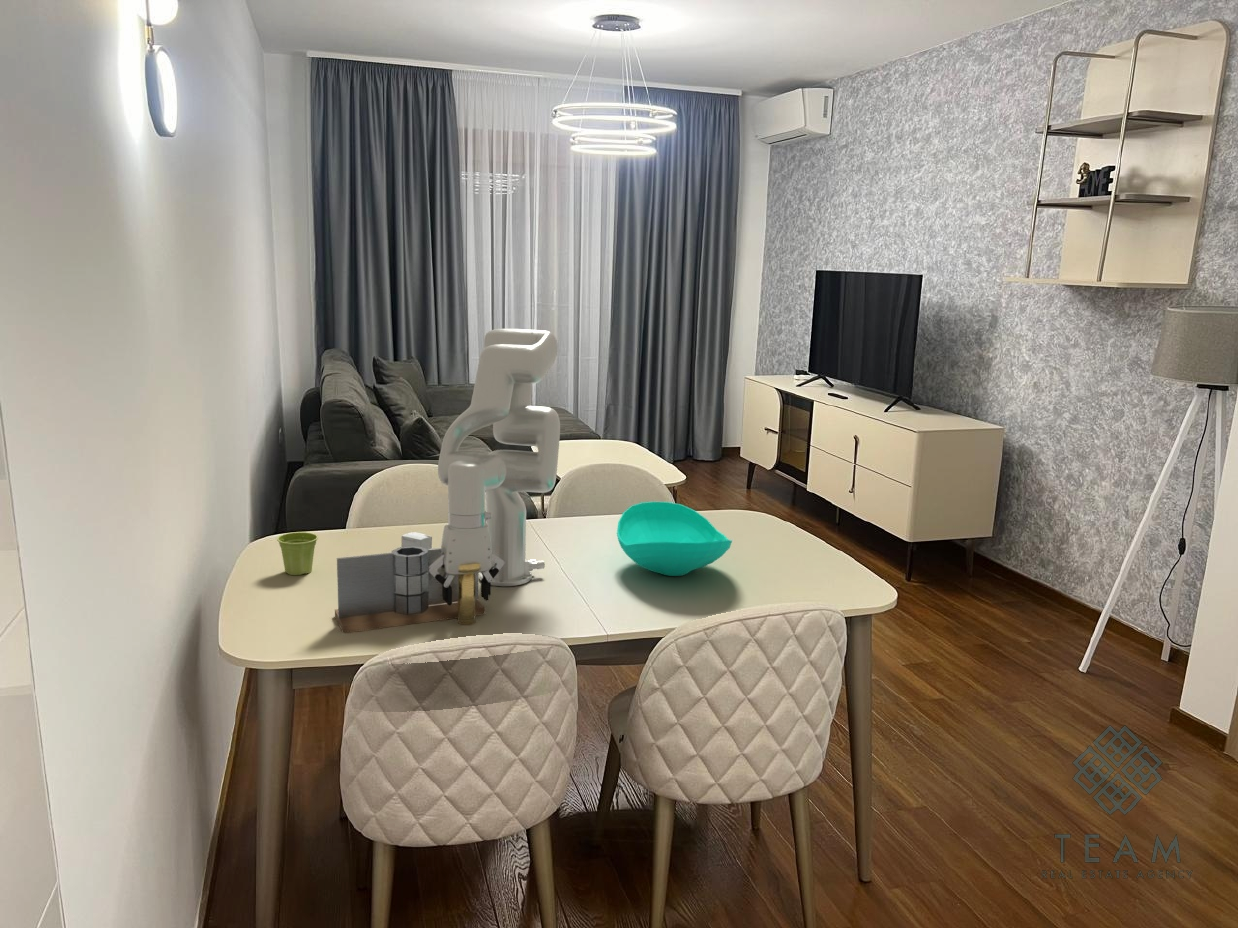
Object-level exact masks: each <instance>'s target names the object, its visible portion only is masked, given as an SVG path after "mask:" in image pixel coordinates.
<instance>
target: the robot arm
mask: <svg viewBox="0 0 1238 928" xmlns="http://www.w3.org/2000/svg"><path fill="white" fill-rule="evenodd" d="M558 346H559V345H558V340H557V338H556V336H555V334H554V333H553V332H551V331H549V330H544V329H543V330H541V329H526V328H525V329H524V328H495V329H492V330H489V331H488V332H487V333H485V335H484V338H483V349H482V351H481V352H480V355H479V359H478V360H479V361H478V365H477V370H476V375H475V381H474V386H473V393H472V396H471V402H470V405H469V406H468V408H466V410H464V411H463V412H462V413H461V414H460V415H458V416H457V418H456V419H455V420H454V421H453V422H452V423H451V424H450V425H449V427H448V429H447V430H446V432H445V434H444V436H443V439H442V443H441V447H440V453H439V458H438V462H437V463H438V464H437V475H438V478H439V481H440V482H441V483H442V484H443V485H444V486H447V489H448V491H447V499H448V500H447V501H448V503H447V504H448V505H447V506H448V508H447V509H448V513H447V515H448V516H447V517H448V519H447V520H448V523H447V524H446V525H444V527H443V533H442V538H441V544H440V545H441V546H440V548H441V557H440V558H438V559H437V560H436V561H435V562H434V563H433V564H431V565H430V566H429V567H428V571H429V572H430V573H431V574H432V575H433V576H434V578H435V579H436V580H437V581H438V582H440V583H441V584H442V598H443V600H444V601H445V602H446V603H447V604H448V605H451V604H452V587H451V586H450V583H451V581H452V579H453V577H454V576H455V575H462V574H468V573H460V572H458V571H459V565H468V564H477V563H481V570H479V571H477V572H471V573H479V581H480V597H482V600H484V601H489V599H490V598H489V597H490V596H491V593H492V592H491V591H492V587H491V586H496V587H513V586H515V587H516V586H522V585H524V584H527V583H528V582H530V581H531V580H532V579H533V577H532V576H533V573H532V571H533V570H541V569H542V570H543V569H545V567H546V566H545V561H544V560H538V561H537V560H536V559H530V560H529V559H527V558H526V550H527V549H526V547H527V546H526V545H527V544H526V543H527V542H526V541H527V537H526V536H527V508H526V503H525V502H524V499H523V498H522V497H521V495H520V493H519V492H525V493H538V494H539V493H540V494H541V493H544V494H545V493H548V492H551V491H552V490H553V489H554V487H555V485H556V480H557V475H558V474H557V473H558V460H559V452H560V451H559V449H560V437H561V421H560V416H559V414H558V412H557V411H556V409H554V408H551V407H550V406H543V405H542V406H539V405H532V395H533V384H534V385H535V384H538V383H540V382H541V381H542V380H543V379H544V378H545V377H546V375H547V373H548V371H550V369H551V368H552V366H553V364H554V363H555V361H556V358H557V355H558V351H559V349H558V348H559V347H558ZM490 425H492V434H493V437H494V439H495V441H497V442H499V443H500V444H504V445H512V446H513V445H514V446H528V447H536V448H537V451H529V450H528V451H526V450H516V449H515V450H514V449H496V450H492V451H491V452H488V453H479V452H478V453H477V452H468V451H467V452H464V451H459V448H460V446H461V445H462V443H463V441H464V440H465V439H466V438H467V437H469V435H471V434H473V433H474V432H476V431H478V430H480V429H483V428H486V427H488V426H490ZM440 567H441V568H442V569H444V570H445V572H444V574H443V576H441V575H440V574H439V573H438V572H437V570H438V568H440Z"/></svg>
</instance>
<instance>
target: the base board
mask: <svg viewBox="0 0 1238 928" xmlns="http://www.w3.org/2000/svg"><path fill="white" fill-rule="evenodd" d="M481 615H486V607H485V606H484V605H483V604H482V603H481V601H479V599H475V616H481ZM334 617H335V620H336V621H337V623H338V625H339V627H340V629H341V631H342V633H343V634H346V633H353V632H363V631H367V630H368V631H369V630H375V629H376V630H377V629H382V628H391V627H392V628H393V627H399V626H406V625H407V626H408V625H414V624H419V623H420V624H422V623H428V622H435V621H436V622H437V621H442V620H451V619H458V602H452V604H451V605H448V604H447V603H443V604H435V605H429V609H428V610H426V611H425V612H423V613H421V614H413V615H404V614H398V613H395V612H394V611H393V612H385V613H377V614H370V615H362V616H354V617H346V618H339V617H338V608H336V609H334Z"/></svg>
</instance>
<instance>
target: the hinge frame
mask: <svg viewBox="0 0 1238 928" xmlns="http://www.w3.org/2000/svg"><path fill="white" fill-rule="evenodd" d="M427 570H428V551H427V550H426V548H422V547H415V546H413V547H412V546H409V547H397V548H395V549H393V550H391V552H385V553H376V554H366V555H365V554H364V555H356V556H355V555H354V556H344V557H337V558H336V577H337V579H336V580H337V583H336V584H337V609H338V617H339V618H346V617H354V616H362V615H370V614H377V613H385V612H393V611H394V612H395V613H398V614H404V615H413V614H421V613H423V612H425V611H426V610H428V609H429V591H428V590H427V591H425V592H424V593H421V594H415V595H402V594H396V593H394V573H396V574H402V575H415V574H420V573H424V572H425V571H427Z"/></svg>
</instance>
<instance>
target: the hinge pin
mask: <svg viewBox="0 0 1238 928" xmlns="http://www.w3.org/2000/svg"><path fill="white" fill-rule="evenodd" d="M479 570H481V563H477V564H468V565H459V571H458V572H460V573H468V574H462V575H458V618H457V624H459V625H462V626H471V625H474V624H475V623H476V615H475V573H471V572H477V571H479Z"/></svg>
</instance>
